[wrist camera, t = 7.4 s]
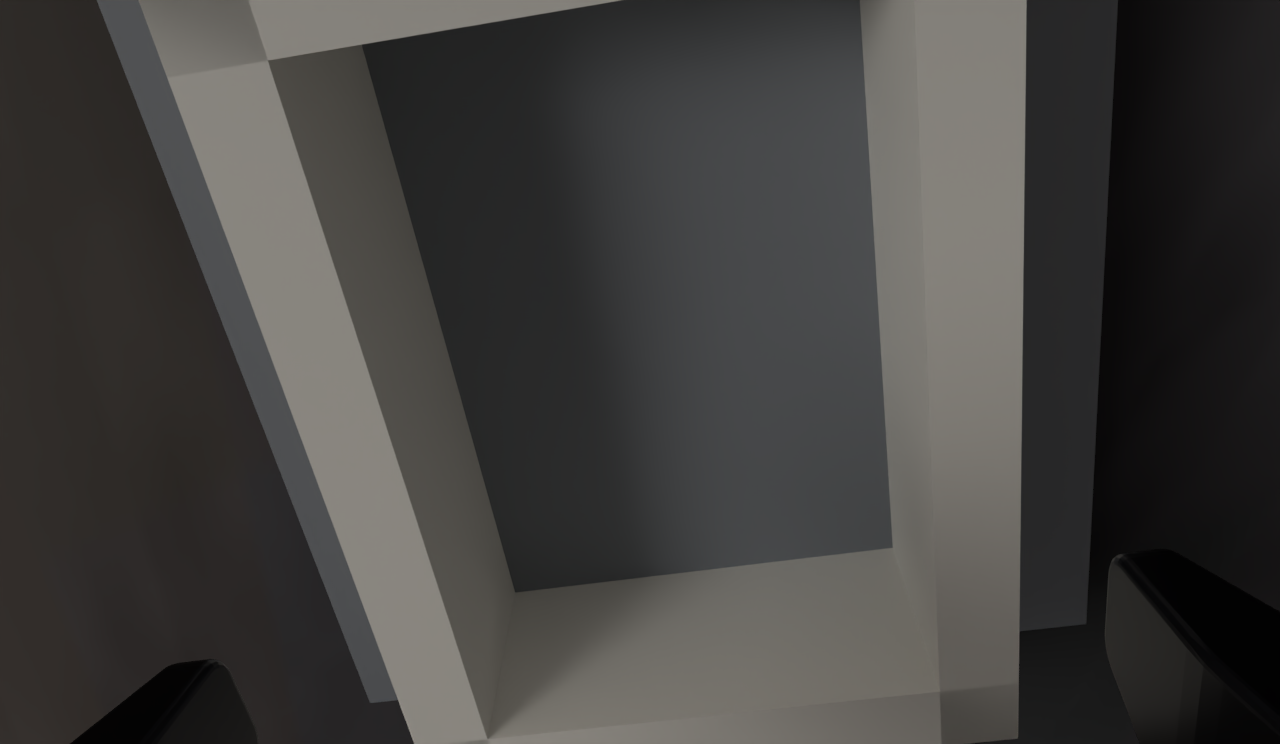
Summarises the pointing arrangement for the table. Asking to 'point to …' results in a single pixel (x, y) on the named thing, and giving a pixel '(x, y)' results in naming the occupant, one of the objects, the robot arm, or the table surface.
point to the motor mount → (662, 343)
